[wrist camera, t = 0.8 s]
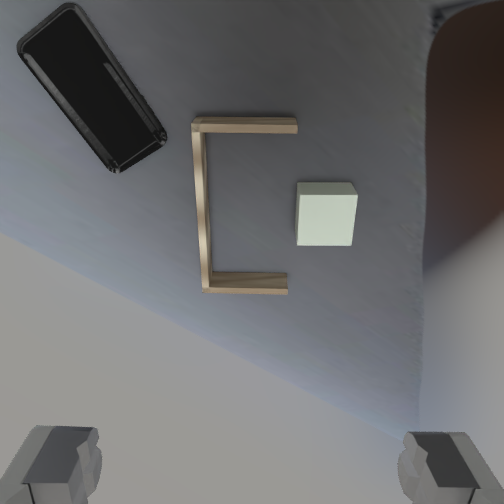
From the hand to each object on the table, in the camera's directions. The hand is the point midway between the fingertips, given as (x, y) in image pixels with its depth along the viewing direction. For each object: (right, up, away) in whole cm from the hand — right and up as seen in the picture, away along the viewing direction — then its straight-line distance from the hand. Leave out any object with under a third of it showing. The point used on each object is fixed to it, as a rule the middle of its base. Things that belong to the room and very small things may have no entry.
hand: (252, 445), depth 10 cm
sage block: (+8, +10, +36) cm, 38 cm away
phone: (-16, +21, +30) cm, 40 cm away
